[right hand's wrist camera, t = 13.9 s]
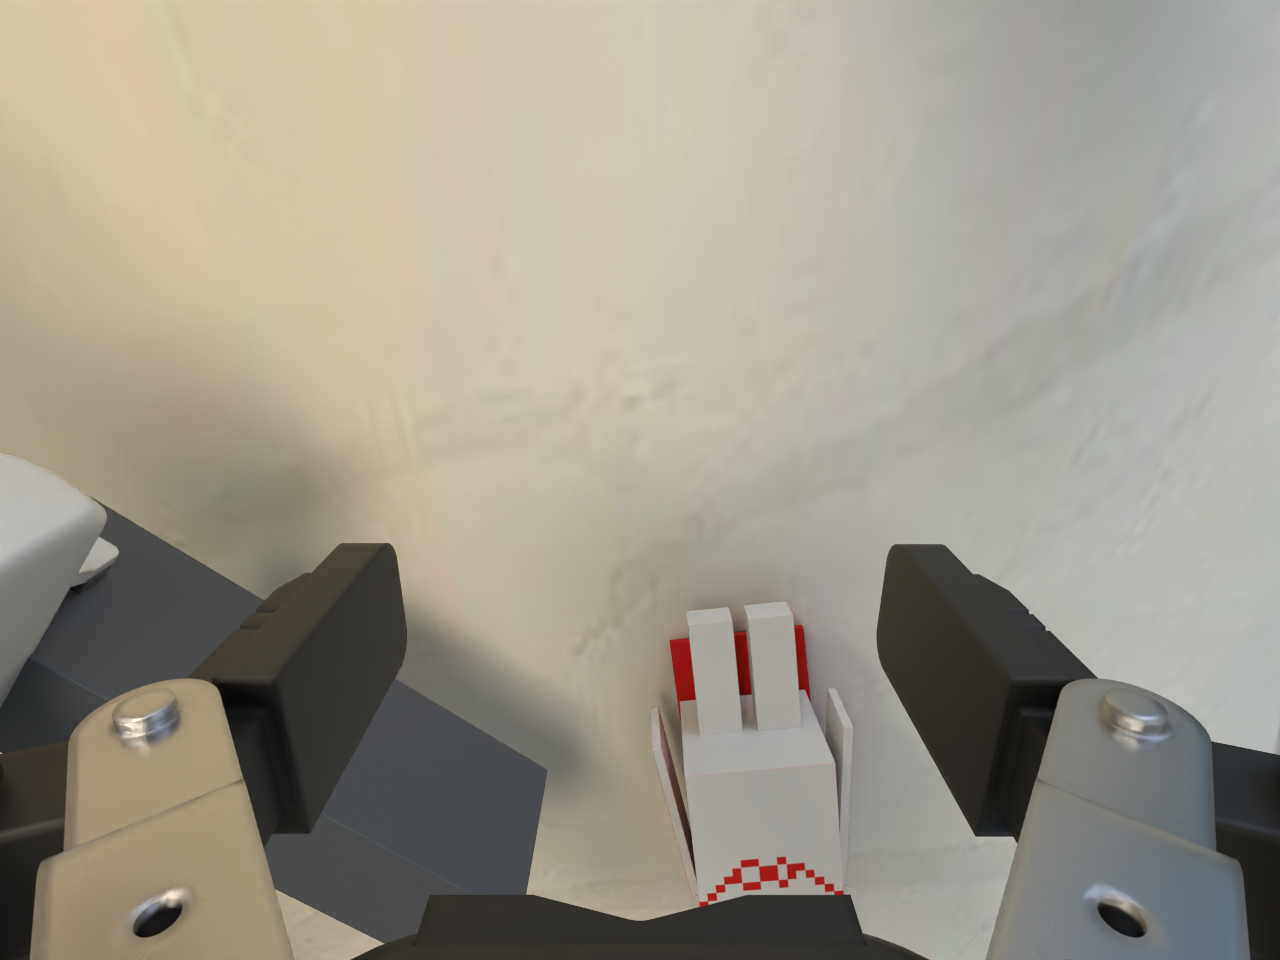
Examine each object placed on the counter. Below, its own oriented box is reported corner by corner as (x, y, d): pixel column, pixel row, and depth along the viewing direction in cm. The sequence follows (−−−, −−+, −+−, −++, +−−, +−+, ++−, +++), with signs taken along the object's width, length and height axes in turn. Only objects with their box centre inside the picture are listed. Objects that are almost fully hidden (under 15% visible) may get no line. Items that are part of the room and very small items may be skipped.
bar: (548, 769, 37) (522, 920, 29) (497, 823, 39) (459, 981, 30) (84, 492, 31) (-108, 585, 23) (45, 567, 33) (-150, 678, 25)
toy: (862, 645, 36) (884, 1086, 42) (807, 561, 49) (830, 907, 55) (635, 667, 36) (691, 1099, 43) (640, 578, 50) (682, 919, 56)
